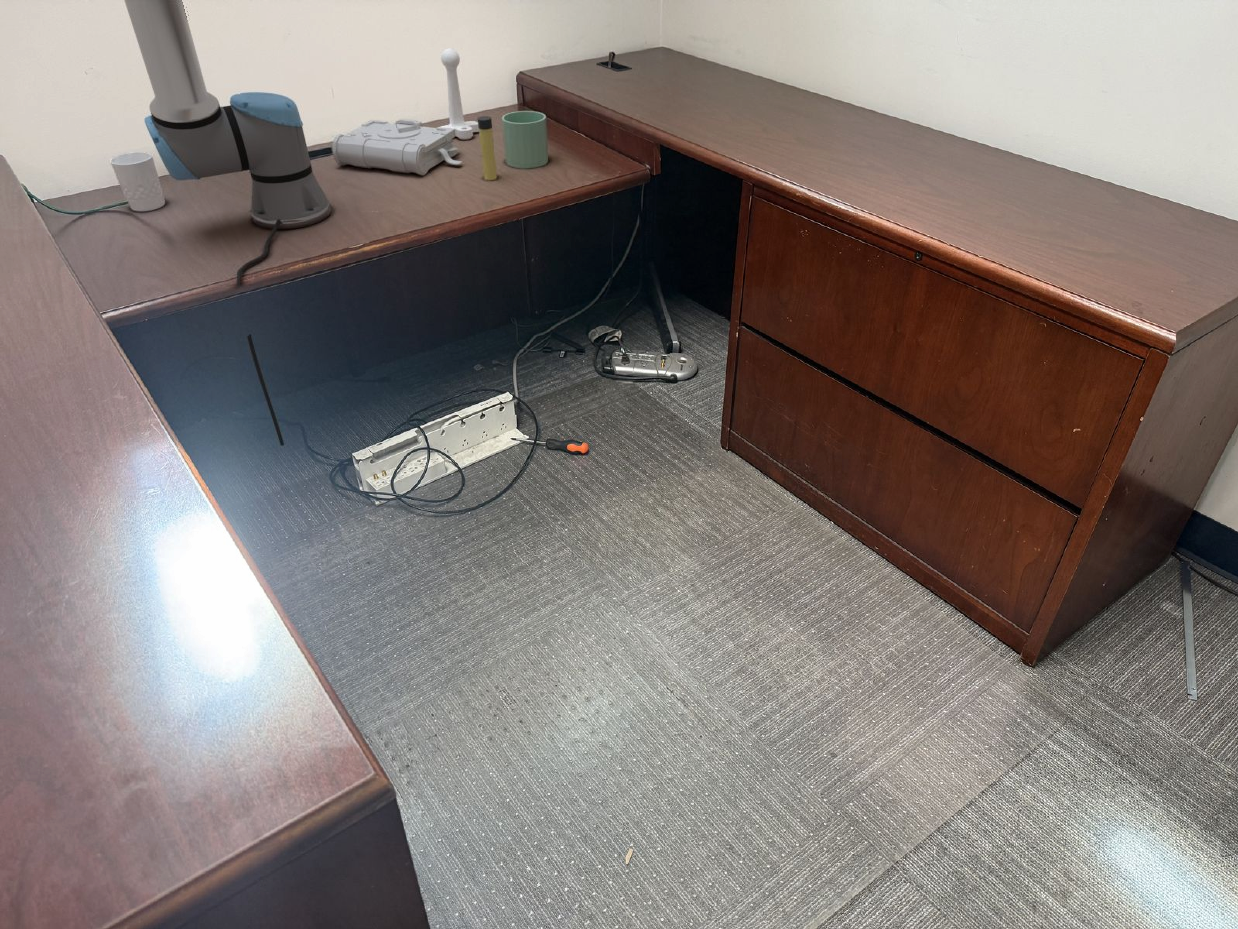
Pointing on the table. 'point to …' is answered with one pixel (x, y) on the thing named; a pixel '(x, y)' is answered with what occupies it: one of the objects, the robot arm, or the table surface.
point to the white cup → (138, 180)
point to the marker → (487, 147)
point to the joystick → (456, 98)
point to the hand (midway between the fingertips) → (152, 38)
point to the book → (396, 146)
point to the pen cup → (525, 139)
